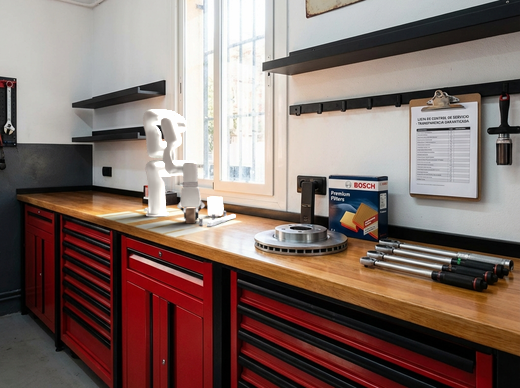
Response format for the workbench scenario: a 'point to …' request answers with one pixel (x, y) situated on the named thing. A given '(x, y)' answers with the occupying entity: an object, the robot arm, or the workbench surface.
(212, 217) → the screw pegs
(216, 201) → the mug
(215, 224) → the cleat rail
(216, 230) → the workbench surface
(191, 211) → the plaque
